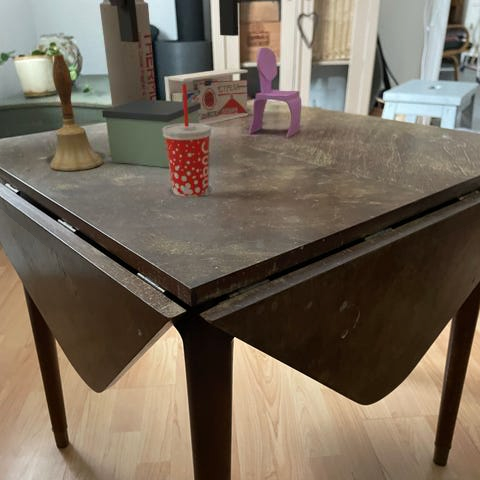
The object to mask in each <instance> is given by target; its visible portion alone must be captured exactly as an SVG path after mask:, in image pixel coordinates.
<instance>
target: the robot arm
mask: <svg viewBox="0 0 480 480" xmlns="http://www.w3.org/2000/svg"><path fill="white" fill-rule="evenodd" d="M109 1H110V3H111V6H117V11H118V20H119V29H120V37H121V41H122V42H139V35H138V25H137V15H136V5H135V0H109ZM239 4H242V0H218V12H219V16H218V17H219V36H229V37H236V36H239Z"/></svg>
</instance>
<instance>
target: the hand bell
mask: <svg viewBox="0 0 480 480" xmlns="http://www.w3.org/2000/svg"><path fill="white" fill-rule="evenodd" d="M52 79H53V85H54V88H55V90H56V93H57V95H58V97H59V101H60V105H61V106H60V107H61V113H62V121H63V125H62V126H61V127H60V128H58V129H57V130H56V133H55V134H56V135H55V136H56V150H55V154H54V156H53V158H52V160H51V161H50V163H49V167H50V169H52V170H55V171H60V172H61V171H62V172H74V171H83V170H89V169H94V168H96V167H98V166H99V167H100V166H101V165H102V164H103V159H102V158H101V157H100V156H99V155H98V154H97V153H96V152H95V150H94V149H93V148H92V146H91V143H90V141H89V138H88V135H87V132H86V129H85V128H84V127H81V126H79V125H77V123H76V121H75V120H76V119H75V114H74V110H73V105H72V91H73V84H72V75H71V72H70V68H69V67H68V64H67V62H66V60H65V58H64V55H63V54H54V55H53V65H52Z"/></svg>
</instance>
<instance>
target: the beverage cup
mask: <svg viewBox="0 0 480 480" xmlns="http://www.w3.org/2000/svg"><path fill="white" fill-rule="evenodd" d="M182 87H183V103H184V120H185V123H183V124H174V125H168V126H166V127H164V128H163V129H162V131H163V136H164V137H165V140H166V147H167V154H168V161H169V176H170V182H171V191H172V193H173V194H174V195H176V196H181V197H197V196H209V183H210V182H209V180H210V179H209V177H210V175H209V174H210V136H211V135H212V126H210V124H206V125H205V124H197V123H188V106H187V88H186V84H182Z"/></svg>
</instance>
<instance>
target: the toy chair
mask: <svg viewBox="0 0 480 480" xmlns="http://www.w3.org/2000/svg"><path fill="white" fill-rule="evenodd" d="M277 63H278V62H277V56H276V54H275V52H274V51H273V50H272V49H271V48H269V47H265V46H264V47H260V48H258V50H257V54H256V69H257V71H258V77H259V85H260V92H258V93H255V99H254V100H253V103H252V104H253V106H252V107H253V109H252V111H253V112H252V119H251V123H250V127H249V130H248V132H247V135H252V134H253V133H256V132H258V131H260V130H262V129H263V127H264V126H263V124H264V123H263V122H264V113H265V108H266V105H267V101H269V100H271V101H278V102H283V103H286V104H287V106H288V109H289V113H290V114H289V115H290V123H289V126H288V130H287V133H286V136H285V138H286V139H288V138H290V137H292V136H293V135H295V134H297V133H299V132H300V126H301V117H302V98H301V96H300V92H301V91H300V90H279V89H272V81H273V80H274V79H275V78H276V76H277V75H278V64H277Z"/></svg>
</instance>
